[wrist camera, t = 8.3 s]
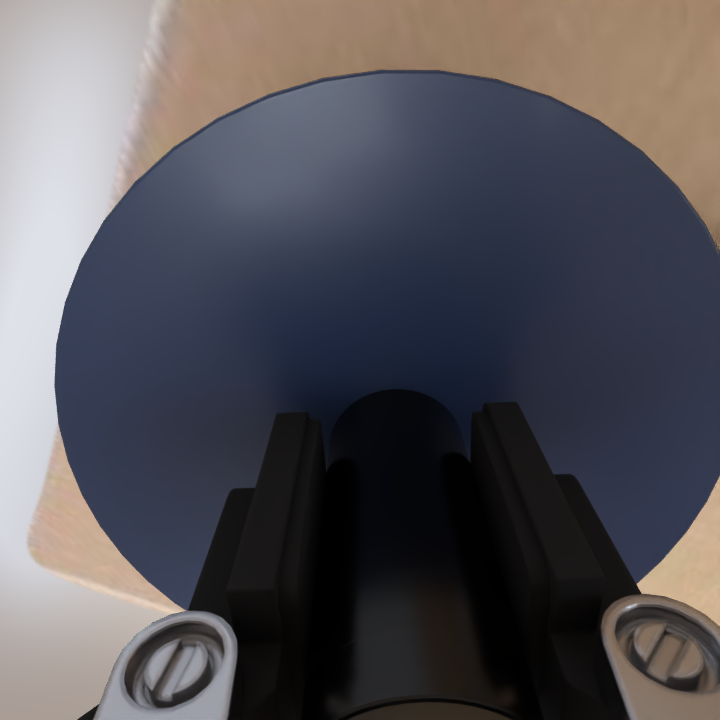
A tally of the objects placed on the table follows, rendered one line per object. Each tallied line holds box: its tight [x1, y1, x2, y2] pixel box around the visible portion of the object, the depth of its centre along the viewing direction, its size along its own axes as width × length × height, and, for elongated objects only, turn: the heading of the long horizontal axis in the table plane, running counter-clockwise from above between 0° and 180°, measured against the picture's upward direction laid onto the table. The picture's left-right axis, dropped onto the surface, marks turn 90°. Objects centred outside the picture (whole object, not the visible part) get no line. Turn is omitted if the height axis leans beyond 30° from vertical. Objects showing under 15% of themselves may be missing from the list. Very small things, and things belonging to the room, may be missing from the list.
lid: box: [55, 70, 720, 720], centre depth 9 cm, size 13×13×7 cm
